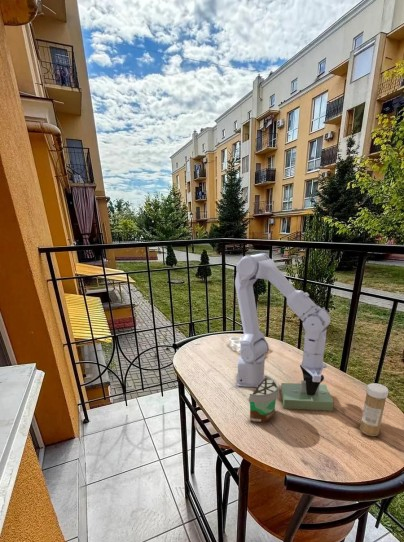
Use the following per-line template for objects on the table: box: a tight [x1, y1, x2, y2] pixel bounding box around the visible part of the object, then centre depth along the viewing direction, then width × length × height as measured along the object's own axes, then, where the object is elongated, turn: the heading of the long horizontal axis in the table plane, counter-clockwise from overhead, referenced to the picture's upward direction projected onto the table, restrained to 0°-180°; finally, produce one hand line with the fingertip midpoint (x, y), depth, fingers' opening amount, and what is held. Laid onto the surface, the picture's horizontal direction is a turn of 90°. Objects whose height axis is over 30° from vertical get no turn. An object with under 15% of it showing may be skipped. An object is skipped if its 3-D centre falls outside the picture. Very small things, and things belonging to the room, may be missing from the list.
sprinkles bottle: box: [359, 382, 389, 437], centre depth 72 cm, size 5×5×14 cm
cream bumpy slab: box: [228, 336, 243, 355], centre depth 127 cm, size 3×18×15 cm
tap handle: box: [300, 380, 321, 394], centre depth 87 cm, size 5×1×4 cm, turn 81°
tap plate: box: [280, 382, 335, 412], centre depth 88 cm, size 14×10×3 cm
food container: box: [248, 375, 280, 425], centre depth 80 cm, size 12×6×10 cm, turn 148°
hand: (309, 390), depth 87 cm, fingers open, 4 cm apart
